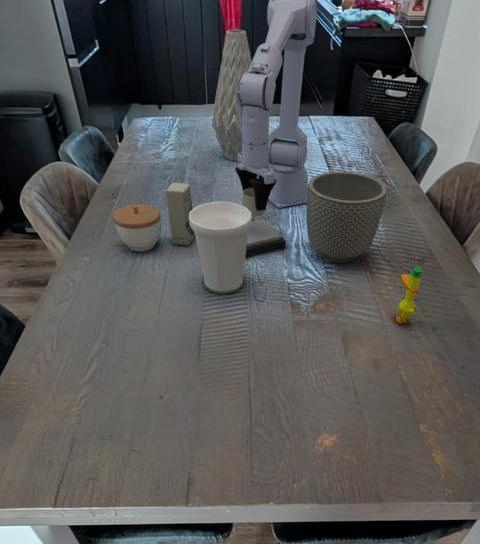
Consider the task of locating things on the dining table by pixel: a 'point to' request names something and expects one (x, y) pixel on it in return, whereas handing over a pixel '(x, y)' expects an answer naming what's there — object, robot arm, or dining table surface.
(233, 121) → the vase
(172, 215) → the box
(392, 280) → the dining table surface
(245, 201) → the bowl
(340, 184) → the planter
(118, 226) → the trinket box
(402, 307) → the toy figure
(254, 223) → the scale
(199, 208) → the cup
